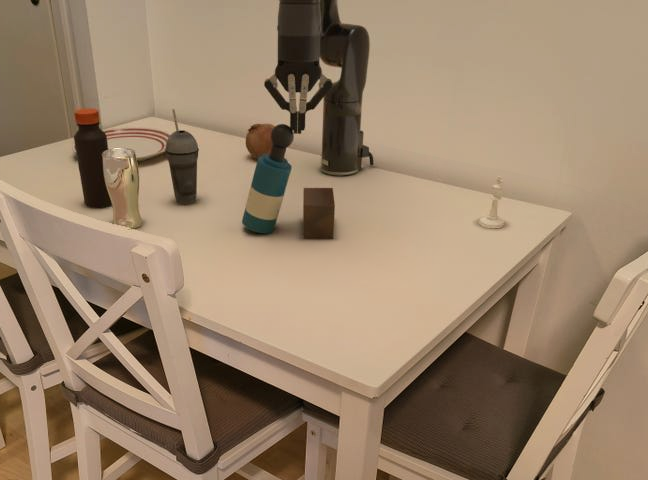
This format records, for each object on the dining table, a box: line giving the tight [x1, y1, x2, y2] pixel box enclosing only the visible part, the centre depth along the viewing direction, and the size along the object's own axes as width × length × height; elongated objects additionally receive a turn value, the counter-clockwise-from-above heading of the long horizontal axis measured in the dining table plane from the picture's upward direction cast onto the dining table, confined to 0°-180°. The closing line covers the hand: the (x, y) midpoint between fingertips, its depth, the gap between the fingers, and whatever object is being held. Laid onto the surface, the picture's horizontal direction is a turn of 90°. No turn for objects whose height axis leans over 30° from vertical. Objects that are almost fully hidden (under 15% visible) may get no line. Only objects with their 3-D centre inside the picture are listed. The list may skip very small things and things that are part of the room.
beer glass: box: [102, 148, 143, 230], centre depth 139 cm, size 7×7×15 cm
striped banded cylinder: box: [241, 123, 295, 234], centre depth 135 cm, size 17×7×19 cm, turn 84°
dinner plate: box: [71, 126, 172, 163], centre depth 184 cm, size 28×27×3 cm
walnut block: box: [302, 187, 336, 240], centre depth 139 cm, size 6×10×7 cm, turn 178°
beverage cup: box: [164, 108, 200, 206], centre depth 149 cm, size 7×7×20 cm
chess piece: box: [478, 175, 505, 229], centre depth 139 cm, size 5×5×10 cm
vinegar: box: [73, 107, 112, 209], centre depth 148 cm, size 7×7×20 cm
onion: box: [245, 123, 276, 160], centre depth 179 cm, size 10×9×10 cm
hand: (297, 132), depth 129 cm, fingers closed
